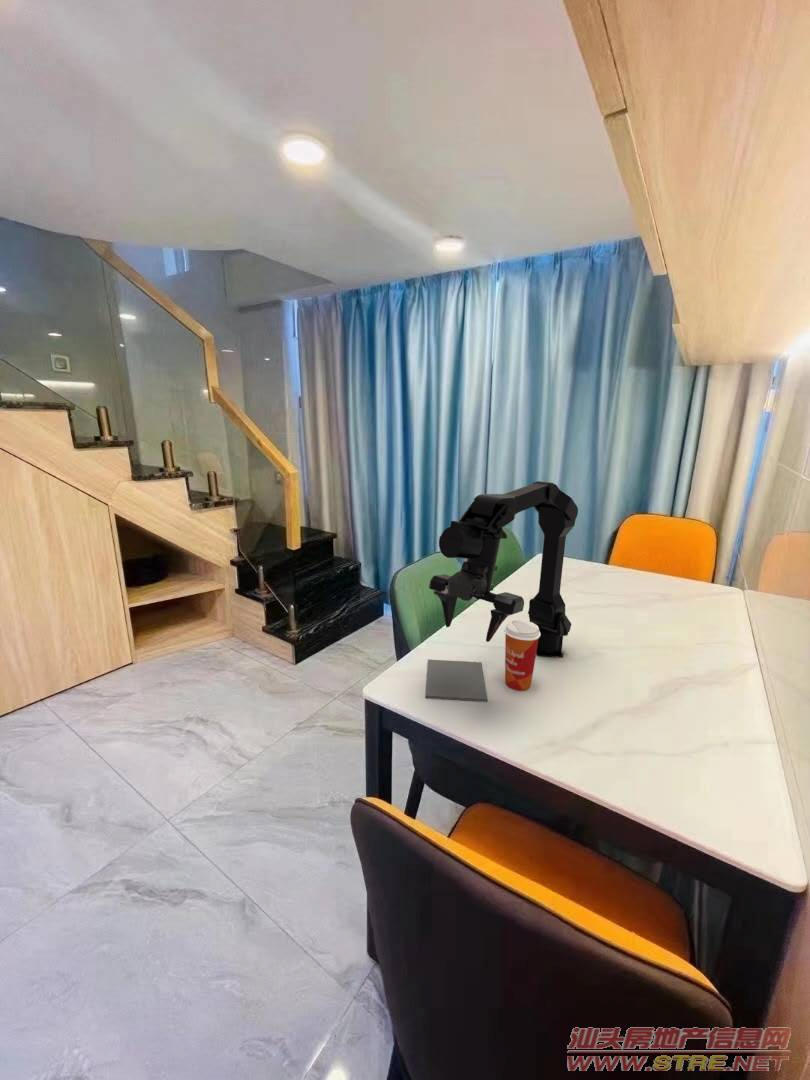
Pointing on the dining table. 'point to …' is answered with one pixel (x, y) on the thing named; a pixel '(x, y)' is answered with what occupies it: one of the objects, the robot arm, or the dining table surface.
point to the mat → (455, 680)
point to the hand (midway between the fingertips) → (467, 633)
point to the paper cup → (520, 653)
